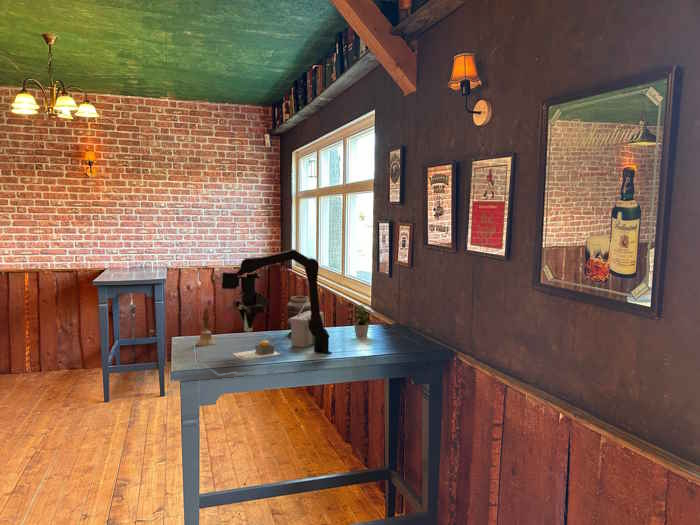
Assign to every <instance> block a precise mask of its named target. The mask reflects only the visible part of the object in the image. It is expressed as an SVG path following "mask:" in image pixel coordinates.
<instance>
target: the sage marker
mask: <svg viewBox="0 0 700 525" xmlns="http://www.w3.org/2000/svg"><path fill="white" fill-rule="evenodd" d="M243 325H244V326H243V327H244V332H252V331H253V327H252V328H249V327H248V324H247V321H246V318H245V314H244V322H243Z"/></svg>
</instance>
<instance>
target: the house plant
mask: <svg viewBox="0 0 700 525" xmlns="http://www.w3.org/2000/svg"><path fill="white" fill-rule="evenodd" d="M355 305H356V307H357V310H356V309H354V308H353V307H351V306H348V307H349V308H350V309H351V311H353V313H354V314H355V316H356V317H355V316H352V315H350V317H349V318H348V319H351V318H352V319H353V320H354V321H356V322H355V323H354V324H353V325H354V332H355V334H354V335H355V338H356V337H358V338H357V339H364V338H363V337H367V338H368V333H369V326H370V323H368V322H369V321H371V320H373V319H374V318H373V319H370V318H371V317H370V314H369V313H370V312H371V311H372V308H370V309H369V311H368V312H367V313H366V308H365V306H364V305H365V304H360V306H359V304H358V303H356V304H355ZM365 313H366V315H365Z"/></svg>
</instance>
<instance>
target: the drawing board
mask: <svg viewBox="0 0 700 525" xmlns="http://www.w3.org/2000/svg"><path fill="white" fill-rule="evenodd" d="M232 355H234V356H236V357H238V358H239V359H241V360H243V361H245V360H252V359H260V358H264V357H272V356H279V355H280V353H279V352H278V351H275V350H274V353H269V354H263V355H261V354H259V353H257V352H256V349H254V350H253V349H252V350H249V351H248V350H247V351H241V352H240V351H239V352H234V353H232Z"/></svg>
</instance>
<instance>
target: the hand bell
mask: <svg viewBox="0 0 700 525" xmlns="http://www.w3.org/2000/svg"><path fill="white" fill-rule="evenodd" d="M202 319H203V330H202V331H201V332H200V335H199V339H198V341H197V342H196V346H199V347H210V346H215V345H216V343H217V342H216V341H214V339H213V336H212V331H210V330H209V321H210V320H209V319H210V311H209V309H208V307H205V308H204V310H203V314H202Z"/></svg>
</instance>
